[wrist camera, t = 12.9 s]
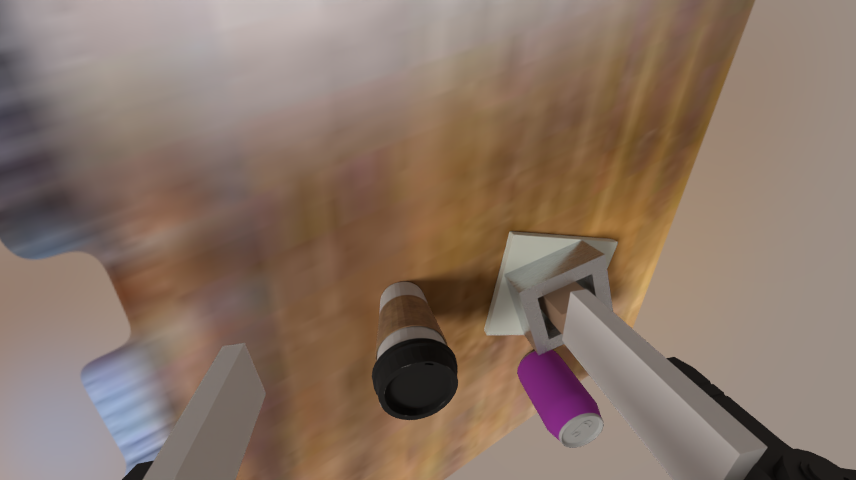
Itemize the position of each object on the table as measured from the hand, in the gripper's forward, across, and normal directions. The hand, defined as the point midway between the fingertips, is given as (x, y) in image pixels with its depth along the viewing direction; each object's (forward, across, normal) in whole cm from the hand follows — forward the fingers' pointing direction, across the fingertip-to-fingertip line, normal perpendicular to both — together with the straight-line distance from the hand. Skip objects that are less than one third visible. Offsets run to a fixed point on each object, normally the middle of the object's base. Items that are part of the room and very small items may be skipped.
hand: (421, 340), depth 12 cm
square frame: (+23, +21, -17) cm, 36 cm away
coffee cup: (+24, 0, -16) cm, 29 cm away
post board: (+24, +21, -17) cm, 37 cm away
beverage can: (+24, +21, -32) cm, 46 cm away
